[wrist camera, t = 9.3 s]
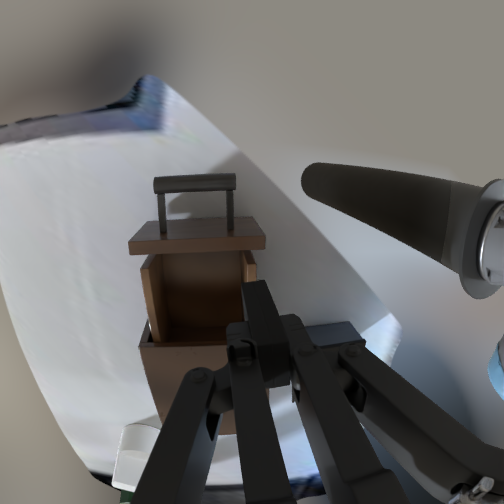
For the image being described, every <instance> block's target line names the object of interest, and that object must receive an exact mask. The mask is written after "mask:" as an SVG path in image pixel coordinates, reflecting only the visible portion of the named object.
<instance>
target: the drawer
mask: <svg viewBox="0 0 504 504" xmlns="http://www.w3.org/2000/svg"><path fill="white" fill-rule="evenodd" d="M153 187H154V193H155V194H157V199H158V214H159V221H147V222H146V223H145V224H144V225H143V227H142V228H141V229H140V230H139V231H138V232H137V233H136V234H135V235H134V236H133V237H132V238H131V239H130V240H129V241H128V246H129V254H130V255H147V254H149V255H148V257H147V258H146V260H145V262H144V263H143V265H142V267H141V268H140V272H141V279H142V285H143V292H144V297H145V303H146V309H147V314H148V319H149V324H150V329H151V334H152V339H153V343H170V342H206V341H226V340H227V334H226V328H227V327H228V325H229V323H236V322H244V321H245V318H244V309H243V300H242V290H241V283H243V282H251V281H256V262H255V259H254V257H253V255H252V252H251V250H259V249H265V234H264V233H263V231H262V230H261V228H260V227H259V225H258V224H257V222H256V221H255V219H254V218H253V217H234V199H233V190H236V174H235V173H220V174H195V175H177V176H162V177H155V178H154V182H153ZM202 191H226V209H227V217H224V218H200V219H179V220H166V206H165V193H182V192H202Z"/></svg>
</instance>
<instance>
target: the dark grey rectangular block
mask: <svg viewBox="0 0 504 504" xmlns="http://www.w3.org/2000/svg"><path fill="white" fill-rule="evenodd" d="M305 329H306V331H307V333H308V335H309V337H310V339H311V341H312V342H313V343H314V344H316V345H318V346H319V347H320V348H321V350H324V351H338V350H339V348H340V346H342V345H343V344H345V343H354V342H355V343H359V344H361V345H363V346H364V347H365V345H366V340H365V339H363V338H362V337H361V336H360V334H359V333H358V332H357V330H356V329H355V328H354V327H353V325H352V324H351V323H350V322H342V323H335V324H327V325H319V326H311V327H305Z"/></svg>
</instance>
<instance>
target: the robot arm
mask: <svg viewBox="0 0 504 504" xmlns="http://www.w3.org/2000/svg"><path fill="white" fill-rule="evenodd" d="M476 267H477V272H478V274H479V276H480V277H481V278H482V279H483V280H485V281H486V282H488V283H490V284H494V285H502V286H504V201H501V202H498V203H497V204H495V205H494V206H493V207H492V208H491V210H490V211H489V213H488V214H487V216H486V218H485V220H484V222H483V225H482V227H481V230H480V234H479V237H478V242H477V248H476ZM241 290H242V300H243V309H244V318H245V321H244V322H236V323H229V325H228V327H227V328H226V334H227V347H226V351H227V357H228V362H227V364H226V365H225V366H224V367H222V368H221V369H218V370H216V371H212V370H210V369H209V368H205V367H196V368H193V369H191V370H189V371H188V372H187V373H186V374H185V375H184V377H183V380H182V382H181V384H180V387H179V389H178V391H177V393H176V396H175V398H174V400H173V403H172V405H171V407H170V410H169V412H168V414H167V416H166V419H165V421H164V423H163V426H162V428H161V430H160V433H159V435H158V437H157V440H156V442H155V444H154V447H153V449H152V451H151V454H150V456H149V458H148V461H147V463H146V466H145V468H144V470H143V473H142V475H141V477H140V480H139V482H138V485H137V487H136V489H135V492H134V494H133V496H132V499H131V501H130V504H200V503H201V499H202V496H203V492H204V488H205V484H206V480H207V476H208V473H209V469H210V465H211V461H212V457H213V453H214V449H215V445H216V441H217V437H218V434H219V430H220V426H221V422H222V418H223V413H225V412H228V411H230V410H233V409H234V417H235V426H236V434H237V442H238V450H239V457H240V464H241V472H242V479H243V486H244V493H245V499H246V504H297V502H296V499H295V498H294V496H293V494H292V491H291V487H290V483H289V479H288V476H287V472H286V468H285V464H284V460H283V456H282V453H281V449H280V445H279V441H278V437H277V433H276V429H275V425H274V421H273V417H272V413H271V409H270V405H269V401H268V397H267V393H266V389H269V388H275V387H281V386H287V385H290V379H291V382H292V403H293V402H294V401H295V402H296V405H297V408H298V411H299V414H300V417H301V420H302V423H303V426H304V429H305V432H306V435H307V438H308V441H309V444H310V446H311V449H312V452H313V455H314V458H315V461H316V464H317V467H318V470H319V473H320V476H321V479H322V482H323V485H324V488H325V491H326V493H327V496H328V499H329V502H330V504H410V502H409V500H408V498H407V496H406V494H405V492H404V490H403V488H402V486H401V484H400V483H399V481H398V479H397V477H396V475H395V474H394V473H393V472H392V471H391V470H390V469H384V468H383V466H382V465H381V463H380V461H379V459H378V457H377V455H376V453H375V451H374V449H373V447H372V445H371V443H370V441H369V440H368V438H367V436H366V434H365V432H364V430H363V428H362V426H361V424H362V425H363V426H364V427H365V428H366V429H367V430H368V431H369V432H370V433H371V434H372V435H373V437H375V439H376V440H377V441H378V442H379V443H380V444H381V445H382V446H383V447H384V448H385V449H386V450H387V451H388V452H389V453H390V454H391V455H392V456H393V457H394V458H395V459H396V460H397V461H398V462H399V464H400V465H401V466H403V468H405V470H407V472H408V473H409V474H410V475H411V476H412V477H413V478H414V479H415V480H416V481H417V482H418V483H419V484H421V486H422V487H423V488H424V489H425V490H427V491H428V492H429V493H430V494H431V495H432V496H434V497H435V498H437V499H438V500H440V501H441V502H443V503H445V504H504V450H503V449H500V448H497V447H494V446H491V445H488V444H485V443H484V442H482V441H481V440H480V439H479V438H477V437H476V436H475V435H474V434H472V433H471V432H470V431H469V430H467V429H466V428H465V427H464V426H462V425H461V424H460V423H459V422H457V421H456V420H455V419H454V418H452V417H451V416H450V415H449V414H447V413H446V412H445V411H444V410H442V409H441V408H440V407H439V406H438V405H436V404H435V403H434V402H433V401H431V400H430V399H429V398H428V397H426V396H425V395H424V394H423V393H421V392H420V391H419V390H418V389H416V388H415V387H414V386H412V385H411V384H410V383H409V382H407V381H406V380H405V379H404V378H403V377H401V376H400V375H399V374H398V373H397V372H395V371H394V370H393V369H391V368H390V367H389V366H388V365H387V364H385V363H384V362H383V361H382V360H380V359H379V358H378V357H377V356H375V355H374V354H373V353H372V352H371V351H369V350H368V349H367V348H366V347H364V346H363V345H361V344H359V343H355V342H354V343H345V344H343V345H342V346H340V348H339V350H338V351H324V350H321V348H320V347H319V346H318V345H316V344H314V343H313V342H312V341H311V339H310V337H309V335H308V333H307V331H306V329H305V327H304V325H303V323H302V321H301V319H300V318H299V317H298V316H296V315H295V314H289V315H282V316H279V314H278V311H277V309H276V306H275V304H274V301H273V299H272V297H271V294H270V292H269V289H268V287H267V284H266V282H265V280H259V281H251V282H243V283H241ZM488 375H489V378H490V381H491V383H492V385H493V387H494V388H495V390H496V391H497V393H498V394H499V395H500V397H501V398H502V399H503V400H504V335H503V337H502V339H501V340H500V341H499V342H498V344H497V347H496V350H495V352H494V353H493V355H492V357H491V359H490V361H489V363H488ZM360 423H361V424H360Z"/></svg>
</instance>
